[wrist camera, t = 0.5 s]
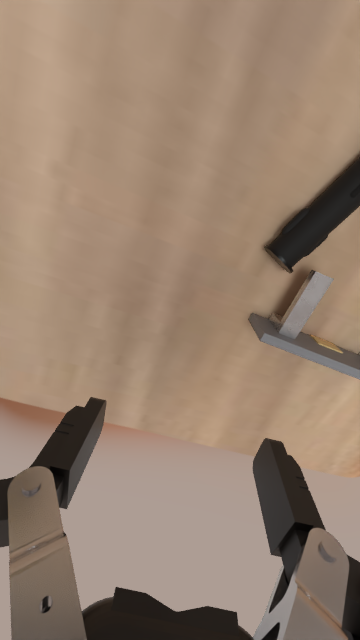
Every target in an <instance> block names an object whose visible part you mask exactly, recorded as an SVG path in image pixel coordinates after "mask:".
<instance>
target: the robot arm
mask: <svg viewBox="0 0 360 640" xmlns="http://www.w3.org/2000/svg"><path fill="white" fill-rule="evenodd" d="M105 409H106V400H102V399H97V398H93V397H91V398H90V399H89V401H88V402H87V404H86V406H85V407H80V406H75V407H74V408H73V409H71V410H70V411H69V412H67V413H66V415H65V416H64V418H63V419H62V421H61V423H60V424H59V426H58V427H57V428H56V430H55V432H54V433H53V434H52V436H51V437H50V439H49V440H48V442H47V443H46V445H45V446H44V448H43V449H42V451H41V452H40V454H39V455H38V457H37V458H36V460H35V461H34V462H33V464H32V465H31V466H30V467H29V468H28V469H26V470H24V471H22V472H21V473H19V474H18V475H17V476H15V477H12V478H9V479H3V480H0V547H4V546H9V553H10V562H9V566H10V567H9V572H10V604H11V635H12V640H360V562H358V561H357V560H355V559H353V558H352V557H350V556H348V555H347V554H346V553H345V551H344V549H343V547H342V546H341V544H340V543H339V542H338V541H337V539H335V538H334V536H332V535H331V534H330V533H329V532H327V531H326V530H325V527H324V525H323V523H322V520H321V518H320V515H319V513H318V511H317V508H316V505H315V503H314V501H313V498H312V496H311V493H310V491H309V490H308V486H307V484H306V481H305V480H304V476H303V473H302V471H301V469H300V466H299V465H298V464H297V462H296V461H295V460H294V458H293V457H292V456H290V455H287V452H286V450H285V447H284V445H283V443H282V442H281V441H276V440H272V439H268V438H265V439H264V441H263V442H262V444H261V446H260V448H259V450H258V452H257V454H256V456H255V458H254V461H253V474H254V478H255V482H256V487H257V491H258V497H259V501H260V506H261V511H262V515H263V520H264V524H265V529H266V534H267V538H268V543H269V547H270V552H271V555H275V556H280V557H282V561H283V566H282V567H281V570H280V572H279V575H278V578H277V581H276V583H275V587H274V589H273V592H272V595H271V597H270V600H269V603H268V606H267V608H266V611H265V614H264V616H263V619H262V621H261V623H260V624H259V626H258V628H257V630H256V632H255V634H254V636H253V637H251V635H250V634H248V632H247V631H245V630H244V629H243V628H242V627H240V626H239V625H238V619H237V612H233V611H228V610H223V609H219V608H213V607H209V606H206V607H201V608H196V609H190V610H186V611H181V612H176V611H173V610H172V609H170V608H168V607H167V606H165V605H163V604H162V603H161V602H159V601H157V600H156V599H154V598H153V597H151V596H150V595H148V594H146V593H142V592H138V591H132V590H128V589H123V588H118V587H116V589H115V593H114V596H113V597H110V598H105V599H103V600H100V601H97V602H96V603H94V604H92V605H90V606H89V607H87V608H86V609H84V610H83V611H81V607H80V601H79V595H78V590H77V585H76V580H75V575H74V569H73V564H72V559H71V553H70V548H69V543H68V539H67V536H66V534H65V533H64V531H63V526H62V521H61V515H60V510H59V508H64V509H67V507H68V505H69V503H70V501H71V498H72V496H73V494H74V492H75V489H76V487H77V485H78V483H79V481H80V478H81V476H82V474H83V472H84V469H85V467H86V465H87V463H88V460H89V458H90V456H91V454H92V452H93V449H94V447H95V445H96V443H97V440H98V438H99V436H100V433H101V430H102V427H103V423H104V416H105Z"/></svg>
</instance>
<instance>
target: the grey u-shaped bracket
mask: <svg viewBox="0 0 360 640" xmlns="http://www.w3.org/2000/svg"><path fill="white" fill-rule="evenodd" d="M333 280H334V279H333V278H330V277H328V276H325V275H323V274H321V273H318V272H316V271H314V270H311V272H310V273H309V275H308V277H307V278H306V280H305V282H304V283H303V285H302V287H301V288H300V290H299V292H298V293H297V295H296V297H295V298H294V300H293V302H292V303H291V305H290V307H289V308H288V310H287V312H286V313H285V315H284V317H283V316H280V315H278V314H275V313H273V312H272V313H271V315H270V317H269V318H268V319H269V321H270V322H271V324H272V325H273V326H274V328H275V329H276V330H277V332H278V333H280V334H282V335H285V336H287V337H290V338H292V339H296V337H297V335H298V334H299V332H300V331H301V329H302V328H303V326H304V325H305V323H306V321H307V320H308V318H309V317H310V315H311V314H312V312H313V311H314V309H315V308H316V306H317V304H318V303H319V301H320V300H321V298H322V297H323V295H324V294H325V292H326V290H327V289H328V287H329V286H330V284H331V283H332V281H333ZM358 355H359V356H360V352H359V354H358Z"/></svg>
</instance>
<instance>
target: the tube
mask: <svg viewBox="0 0 360 640" xmlns="http://www.w3.org/2000/svg"><path fill="white" fill-rule="evenodd" d="M359 206H360V157H359V158H358V159H357V160H356V161H355V162H354V163H353V164H352V165H351V166H350V167H349V168H348V169H347V170H346V171H345V172H344V173H343V174H342V175H341V176H340V177H339V178H338V179H337V180H336V181H335V182H334V183H333V184H332V185H331V186H330V187H329V188H328V189H327V190H326V191H325V192H323V193H322V194H321V195H320V196H319V197H318V198H317V199H316V200H315V201H314V202H313V203H312V204H311V205H310V206H309V207H308V208H305V209H303V210H302V211H300V212H299V213H298V214H297V215H296V216H295V217H294V218H293V219H292V220H291V221H290V222H289V223H288V224H287V225H286V226H285V227H284V229H283V230H282V233H281V234H280V235H279V236H278V237H277V238H276V239H275V240H274V241H273V242H272V243H271V244H270V245H269V246H268V245H266V246H265V247H264V248H265V250H266V251H267V252H268V253H269V254H270V255H271V256H272V258H273V259H274V260H275V261H276V262H277V263H278V264H279V265H280V266H281V267H282V268H283V269H285V270H286V271H287V272H289V273H290V274H291V273H292V272H293V269H292V267H293V266H294V265H295V264H296V263H297V262H298V261H299V260H300V259H302V258H303V257H305V256H307V255H309V254H310V253H311V252H312V251H313V250H314V249H316V248H317V247H318V246H319V245H320V244H321V243H322V242H323V241H324V240H325V239H326V238H327V237H328V234H329V233H330V232H331V231H333V230H334V229H335V228H336V227H337V226H338V225H339V224H340V223H341V222H342V221H344V220H345V219H346V218H347V217H348V216H349V215H350V214H351V213H352V212H354V211H355V210H356V209H357V208H358V207H359Z"/></svg>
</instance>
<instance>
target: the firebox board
mask: <svg viewBox="0 0 360 640" xmlns="http://www.w3.org/2000/svg"><path fill="white" fill-rule="evenodd" d="M249 321H250V323H251V325H252V327H253V329H254V331H255V332H256V334H257V336H258V338H259V340H260V341H262V342H264V343H267V344H269V345H272V346H275V347H277V348H280V349H282V350H285V351H287V352H290V353H293V354H295V355H298V356H300V357H303V358H306V359H308V360H311V361H313V362H316V363H319V364H321V365H324V366H326V367H329V368H331V369H334V370H337V371H339V372H342V373H344V374H347V375H350V376H352V377H355V378H357V379H360V356H359V355H358V354H355V353H353V352H350V351H348V350H345V349H343V348H340V347H338V346H335V345H334V344H333V343H331V342H328V341H326V340H323V339H321V338H318V337H316V336H313V335H311V334H310V335H307V334H305V333H302V332H299V334H298V335H297V337H296V339H292V338H290V337H287V336H285V335H282V334H280V333H278V332H277V330H276V329H275V328H274V326H273V325H272V324H271V322H270V321H269V319H267V318H264V317H262V316H259V315H257V314H254V313H252V314H251V316H250V318H249Z"/></svg>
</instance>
